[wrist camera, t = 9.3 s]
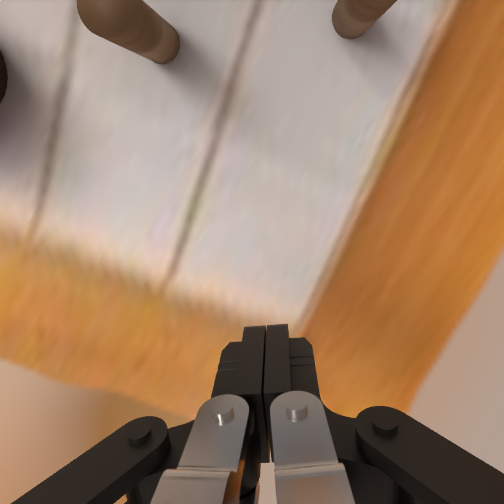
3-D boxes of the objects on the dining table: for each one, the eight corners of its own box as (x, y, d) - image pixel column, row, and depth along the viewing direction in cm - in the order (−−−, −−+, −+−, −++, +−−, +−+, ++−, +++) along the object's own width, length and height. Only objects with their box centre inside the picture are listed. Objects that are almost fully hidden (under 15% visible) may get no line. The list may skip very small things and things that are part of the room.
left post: (138, 24, 26) (70, -23, 17) (175, 18, 25) (125, -32, 17) (146, 65, 26) (84, 40, 18) (182, 60, 26) (137, 33, 18)
